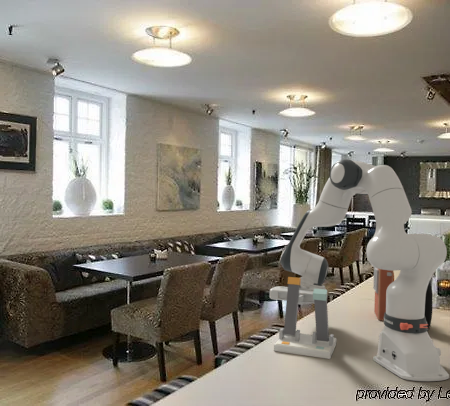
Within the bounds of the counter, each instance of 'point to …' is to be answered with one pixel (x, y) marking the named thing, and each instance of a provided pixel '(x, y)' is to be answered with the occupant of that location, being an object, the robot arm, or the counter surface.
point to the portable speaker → (428, 305)
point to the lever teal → (321, 314)
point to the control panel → (381, 290)
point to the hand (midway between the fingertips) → (293, 300)
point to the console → (305, 344)
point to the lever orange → (292, 306)
